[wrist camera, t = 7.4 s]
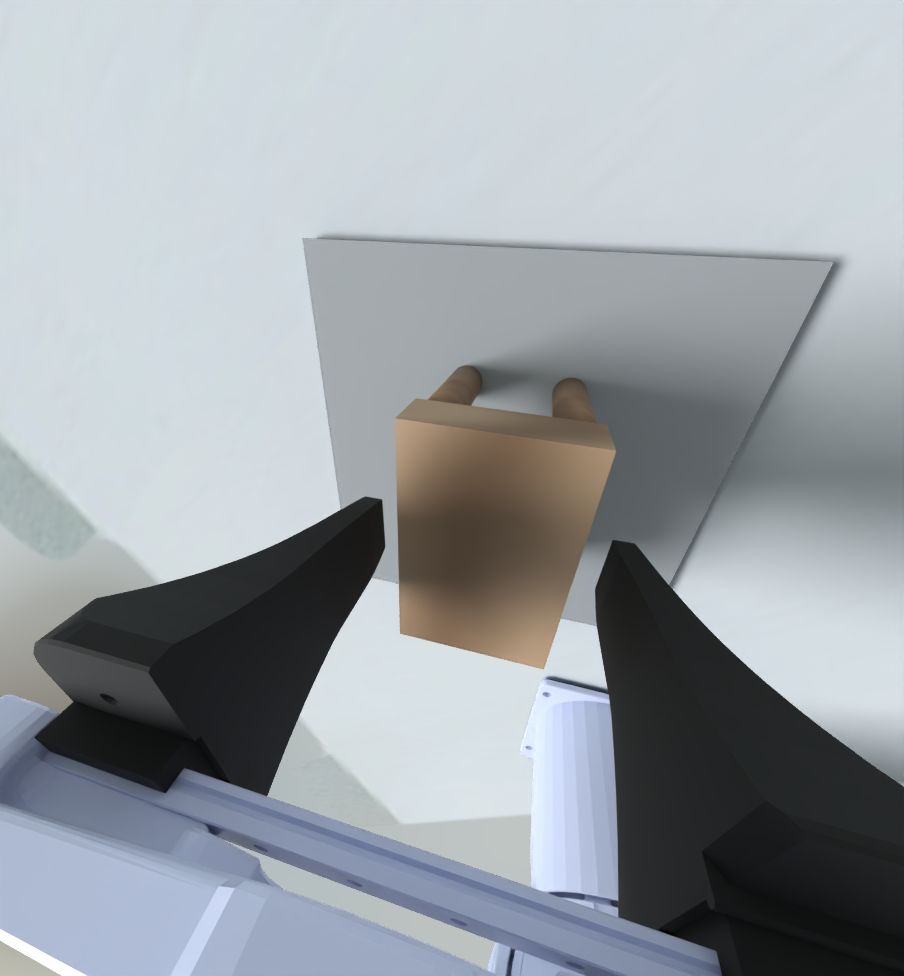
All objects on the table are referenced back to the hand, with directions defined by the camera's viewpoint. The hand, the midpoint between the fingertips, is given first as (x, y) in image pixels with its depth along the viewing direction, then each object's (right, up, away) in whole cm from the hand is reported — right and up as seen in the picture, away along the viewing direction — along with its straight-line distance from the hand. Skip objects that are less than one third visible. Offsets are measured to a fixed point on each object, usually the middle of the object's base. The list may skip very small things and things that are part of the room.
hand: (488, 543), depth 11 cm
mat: (+1, +3, +4) cm, 5 cm away
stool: (+1, +3, +4) cm, 5 cm away
